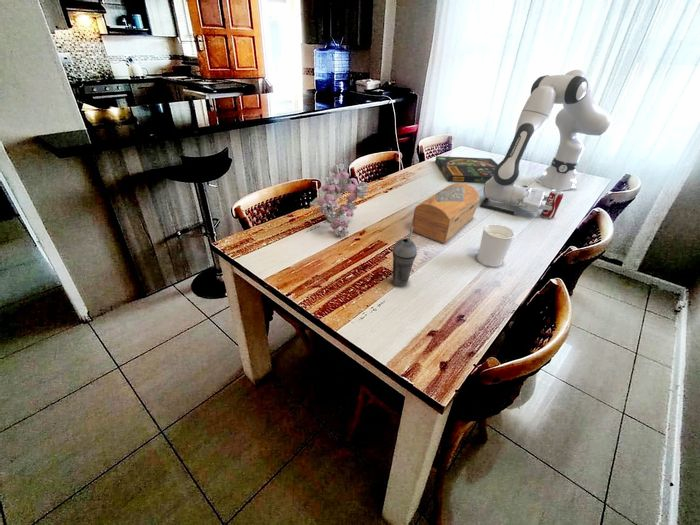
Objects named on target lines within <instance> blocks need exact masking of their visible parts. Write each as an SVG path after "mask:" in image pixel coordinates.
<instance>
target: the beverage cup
mask: <svg viewBox="0 0 700 525" xmlns="http://www.w3.org/2000/svg"><path fill="white" fill-rule="evenodd" d="M412 234H413V226H412V225H411V229H410V232H409V235H408V238H401V239H399V240H398V241H396V242H395V244H394V246H393V248H392V284H393V285H394V286H395V287H398V288H405V287H406V286H407V285H408V282H409V279H410V276H411V272H412V268H413V265H414V261H415V259H416V257H417V255H418V249H417V245H416V244H415V243H414V241H413V240H411V238H412Z"/></svg>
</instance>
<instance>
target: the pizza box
mask: <svg viewBox="0 0 700 525" xmlns="http://www.w3.org/2000/svg"><path fill="white" fill-rule="evenodd" d="M434 162H435V163H436V166H437V167H438V168H439V170H440V171H441V173H442V175H443V177H444V178H445V180H446V181H447V182H448V183H466V184H468V183H471V184H485V183H486V181H488V180H489V179H490V178H491V177H492V176H493V173H494V169H495V168H496V166H497V165H498V164H499V163H497V162H496V161H495V160H494V159H492V158H488V157H465V156H464V157H463V156H442V155H438V156H437V155H436V156H435V161H434Z"/></svg>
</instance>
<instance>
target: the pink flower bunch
mask: <svg viewBox="0 0 700 525" xmlns="http://www.w3.org/2000/svg"><path fill="white" fill-rule="evenodd" d="M344 169H345V164H344V163H338V164H337V162H334V164H333V165H331V166H329V171H330V172H331V175H330V176H326V177H325V179H324V181H325V183H326V184H325V185H322V186H321V191H322V192H323V193H324V196H323V197H322V196H321V197H315V198H314V199H313V200H312V201H311V202H310V203H309V206H319V207H317V210H318V212H319V213H321V214H323V215H324V218H326V219H327V220H328V221H329V222H330V225H329V226H330V227H331V228H330V229H332V230H334V233H335V234H336V237H338V236H340V237H341V238H342V239H343V236H345V234H347V235H349V230H348V227H349V219H347V218H346V217H348V218H352V217H354V215H355V213H354V211H355V210H356V209H358V206H356V201H357V198H358V199H360V200H365V199H366V198H365V197H366V196H369V194H368V193H371V192H372V190H370V191H369V189H368V188H369V185H368V184H367V182H365V181H361V182H358V180H357V178H355V177H351V178H350V173H348V172H347V171H344ZM342 176H343V177H344V178H345V179H346V180H349V181H350V182H352V183H347V184H346V186H345V189H343V190H342ZM349 178H350V179H349ZM338 183H339V184H340V185H338ZM346 191H347V192H349V193H350V194H349V195H348V196H346V200H347V201H346V204H344V203H343V204H340V205H339V201H338V200H337V199H339V198H342V197H343V193H344V192H346ZM325 192H326V193H325ZM364 196H365V197H364ZM335 209H336V210H335Z"/></svg>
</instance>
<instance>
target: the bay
mask: <svg viewBox="0 0 700 525" xmlns="http://www.w3.org/2000/svg"><path fill="white" fill-rule="evenodd" d="M489 200H490V199H487V198H486V197H484V199H483V200H482V202H481V204H480V205H479V207H480V208H483V209H488V210H491V211H495V212H500V213H503V214H507V215H512V216H515V214H516V211H513V210H509V209H506V208H502V207H498V206H495V205H489V204H487V203H488V201H489Z"/></svg>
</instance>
